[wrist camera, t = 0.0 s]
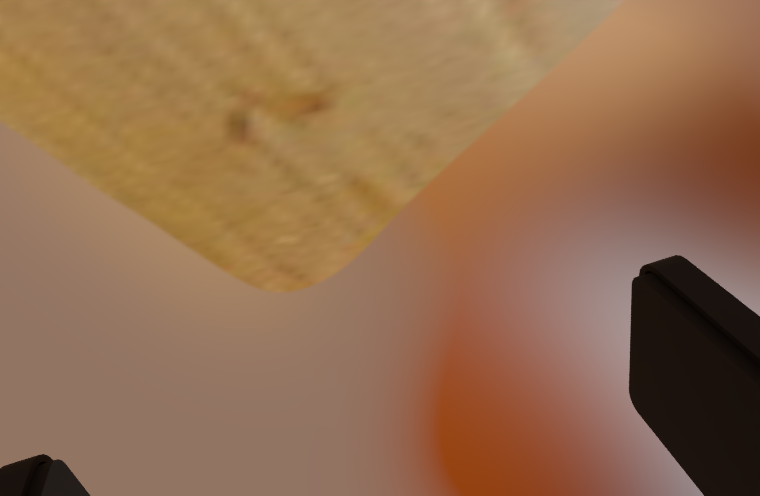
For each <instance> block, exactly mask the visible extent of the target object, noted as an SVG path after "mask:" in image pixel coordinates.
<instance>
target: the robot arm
mask: <svg viewBox="0 0 760 496" xmlns="http://www.w3.org/2000/svg"><path fill="white" fill-rule="evenodd" d="M630 338H631V339H630V374H629V393H630V398H631V401H632V403H633V405H634V407H635V409H636V410H637V412H638V413H639V414H640V415H641V417H642V418H643V419H644V421H645V422H646V423H647V424H648V426H649V427H650V428H651V429H652V431H653V432H654V433H655V434H656V436H657V437H658V438H659V440H660V441H661V442H662V443H663V445H664V446H665V447H666V448H667V449H668V451H669V452H670V453H671V455H672V456H673V457H674V458H675V460H676V461H677V462H678V463H679V464H680V466H681V467H682V468H683V469H684V471H685V472H686V473H687V474H688V476H689V477H690V478H691V480H692V481H693V482H694V483H695V485H696V486H697V487H698V488H699V489H700V491H701V492H702V493H703V495H704V496H760V316H758V315H757V314H756V313H755V312H753V311H752V310H751V309H749V308H748V307H747V306H745V305H744V304H743V303H742V302H740V301H739V300H738V299H737V298H735V297H734V296H733V295H732V294H730V293H729V292H728V291H726V290H725V289H724V288H723V287H721V286H720V285H719V284H718V283H716V282H715V281H714V280H712V279H711V278H710V277H708V276H707V275H706V274H705V273H703V272H702V271H701V270H700V269H698V268H697V267H696V266H695V265H693V264H692V263H691V262H689V261H688V260H687V259H685V258H684V257H682V256H678V255H675V256H672V257H669V258H666V259H662V260H659V261H656V262H653V263H650V264H646V265H644V266H643V267H642V268H641V269H640V273H639V276H638V277H636V278H634V280H633V281H632V300H631V337H630ZM0 496H90V495H89V494H88V492H87V491H86V490H85V488H84V487H83V486H82V484H81V483H80V482H79V481H78V479H77V478H76V477H75V476H74V474H73V473H72V472H71V470H70V469H69V468H68V466H67V465H66V464H65V463H64V462H63V461H62V460H54V461H53V460H52V459H51V458H50V457H49V456H47V455H44V454H42V455H38V456H34V457H31V458H28V459H25V460H22V461H18V462H15V463H12V464H9V465H6V466H3V467H2V468H0Z"/></svg>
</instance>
